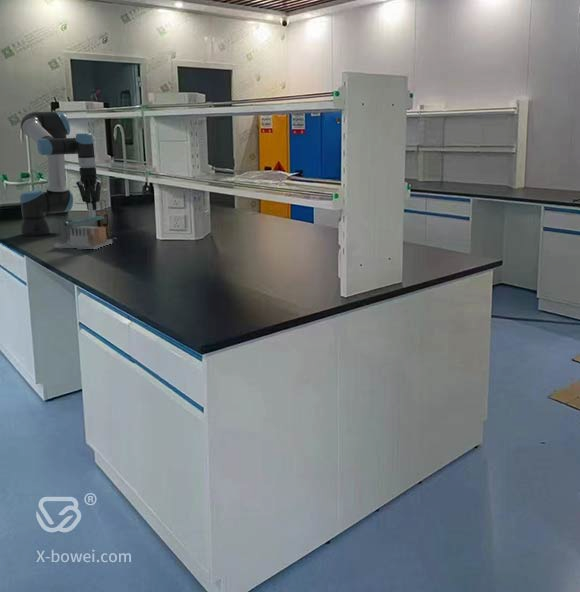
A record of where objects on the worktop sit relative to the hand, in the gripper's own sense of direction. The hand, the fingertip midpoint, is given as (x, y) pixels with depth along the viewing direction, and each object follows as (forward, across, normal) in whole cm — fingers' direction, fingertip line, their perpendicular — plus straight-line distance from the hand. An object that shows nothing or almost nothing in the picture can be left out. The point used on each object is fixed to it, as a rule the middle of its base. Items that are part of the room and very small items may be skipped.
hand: (92, 216), depth 301 cm
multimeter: (+15, -5, +21) cm, 26 cm away
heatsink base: (+15, -7, 0) cm, 16 cm away
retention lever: (+3, -6, 0) cm, 7 cm away
